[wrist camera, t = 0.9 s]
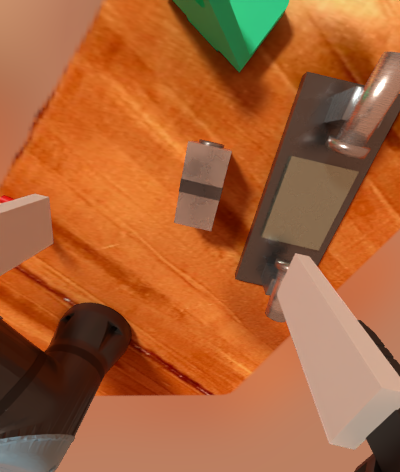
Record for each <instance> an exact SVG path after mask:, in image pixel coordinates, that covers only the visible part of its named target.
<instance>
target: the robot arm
mask: <svg viewBox="0 0 400 472" xmlns="http://www.w3.org/2000/svg"><path fill="white" fill-rule="evenodd" d="M52 244H53V233H52V223H51V213H50V203H49V197H46V196H42V195H38V194H32V195H29V196H25V197H22V198H18V199H15V200H11V201H8V202H4V203H1V204H0V276H1V275H3V274H4V273H6V272H7V271H9V270H11V269H12V268H14V267H16V266H17V265H19V264H20V263H22V262H24V261H25V260H27V259H29V258H30V257H32V256H34V255H35V254H37V253H38V252H40V251H42V250H43V249H45V248H47V247H48V246H50V245H52ZM277 297H278V300H279V302H280V305H281V308H282V311H283V314H284V317H285V320H286V322H287V325H288V328H289V331H290V334H291V337H292V339H293V342H294V345H295V348H296V351H297V353H298V357H299V359H300V362H301V365H302V368H303V371H304V374H305V376H306V379H307V382H308V385H309V388H310V391H311V393H312V396H313V399H314V402H315V405H316V408H317V411H318V413H319V416H320V419H321V422H322V425H323V428H324V430H325V433H326V436H327V439H328V442H329V444H333V445H337V446H342V447H346V448H350V449H356V448H357V447H358V446H359V445H360V444H361V443H362V442H364V440H366V439H367V441H368V443H369V445H370V448H371V450H372V452H373V454H372V455H371V456H370V457H369V458H368V459H366V460H365V461H364V462H363V463H362V464H361V465H359V466H358V467H357V468H356V470H355V471H354V472H400V364H399V363H398V362H397V361H396V360H395V359H393V356H392V354H391V353H390V352H389V350H388V349H387V348H385V347H384V344H383V343H382V342H381V340H380V339H379V338H378V337H377V335H376V334H375V333H374V332H373V331H372V330H371V329H370V328H369V327H367V326H366V325H365V324H364V323H363V322H362V321H361V320H357V319H356V318H355V317H354V315H353V314H352V312H351V311H350V310H349V308H348V307H347V306H346V304H345V303H344V302H343V300H342V299H341V298H340V296H339V295H338V294H337V292H336V291H335V290H334V288H333V287H332V286H331V284H330V283H329V282H328V280H327V279H326V278H325V276H324V275H323V274H322V272H321V271H320V270H319V268H318V267H317V266H316V264H315V263H314V262H313V260H312V259H311V258H310V256H305V255H301V254H297V253H295V255H294V257H293V259H292V261H291V264H290V266H289V268H288V270H287V272H286V275H285V277H284V279H283V281H282V283H281V286H280V288H279V290H278V292H277ZM2 319H3V318H2V317H1V316H0V472H55V470H56V469H57V468H58V466H59V464H60V462H61V461H62V459H63V457H64V455H65V453H66V452H67V450H68V448H69V446H70V445H71V443H72V442H73V441H74V439H75V434H76V432H77V430H78V428H79V426H80V424H81V422H82V420H83V418H84V416H85V414H86V412H87V410H88V408H89V406H90V404H91V402H92V400H93V398H94V396H95V394H96V392H97V390H98V388H99V386H100V383H101V381H102V379H103V377H104V375H105V374H106V373H107V372H108V370H109V369H110V368H111V367H112V366H113V365H114V364H115V363H116V362H117V361H118V359H119V358H120V357H121V356H122V355H123V354H124V353H125V351H126V349H127V347H128V345H129V343H130V340H131V330H130V327H129V325H128V324H127V322H126V321H125V319H124V318H123V317H122V316H121V315H120V314H118V313H117V312H116V311H114V310H112V309H111V308H109V307H106V306H104V305H100V304H96V303H81V304H77V305H75V306H73V307H71V308H70V309H69V310H68V311H67V312H66V314H65V315H64V316H63V317H62V318H61V320H60V322H59V324H58V326H57V329H56V331H55V333H54V336H53V338H52V340H51V343H50V345H49V347H48V348H47V350H46V351H45V352H43V351H42V350H40V349H39V348H38V347H37V346H35V345H34V344H33V343H31V342H30V341H29V340H27V339H26V338H25V337H23V336H22V335H21V334H20V333H18V332H17V331H16V330H15V329H13V328H12V327H11V326H9V325H8V324H7V323H6V322H4V321H3V320H2Z"/></svg>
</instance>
